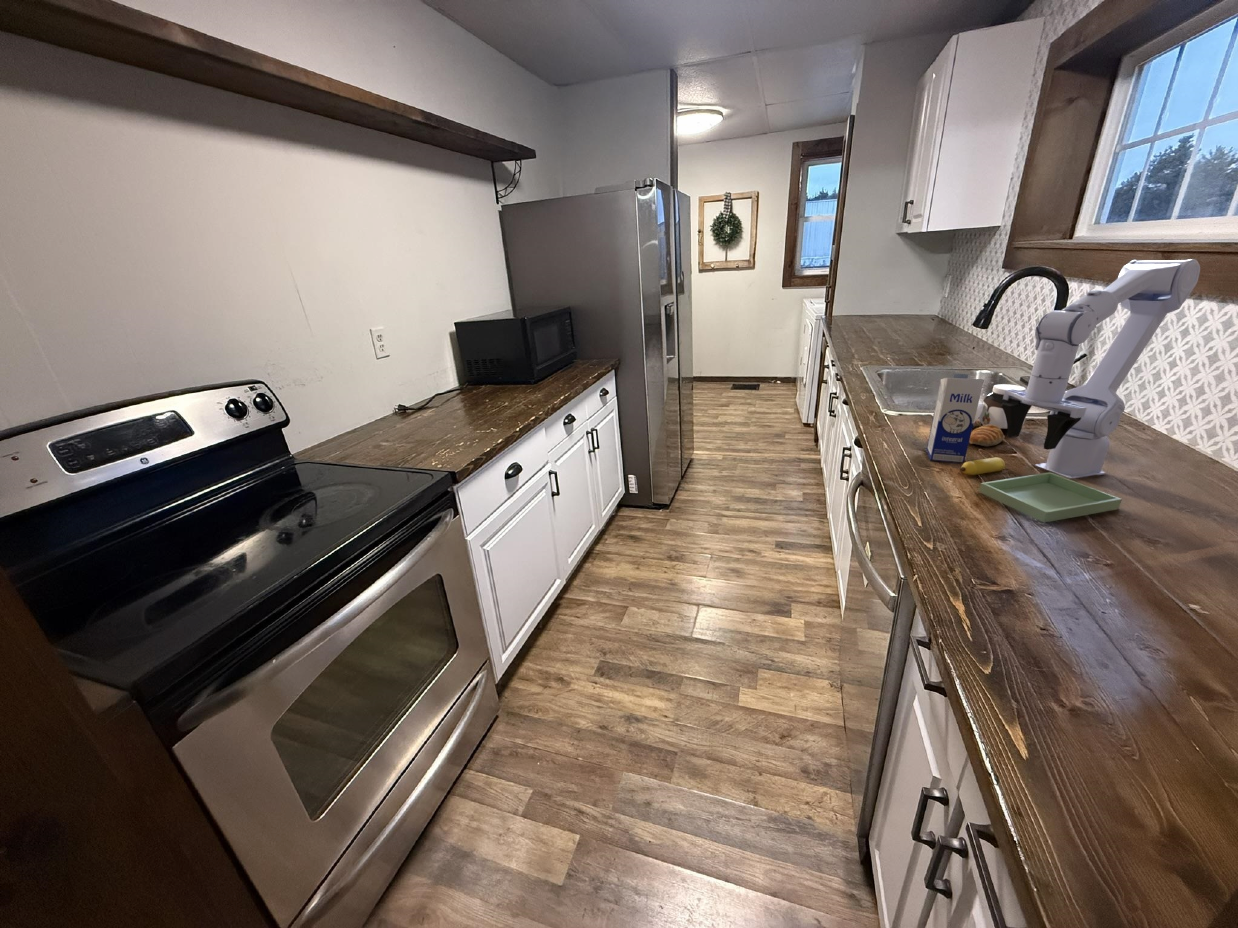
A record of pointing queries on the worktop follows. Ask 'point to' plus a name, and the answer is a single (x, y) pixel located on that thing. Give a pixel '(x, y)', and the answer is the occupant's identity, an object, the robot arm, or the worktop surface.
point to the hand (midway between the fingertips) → (1030, 442)
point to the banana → (983, 466)
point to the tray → (1049, 496)
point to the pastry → (986, 435)
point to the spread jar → (995, 407)
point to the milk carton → (954, 418)
